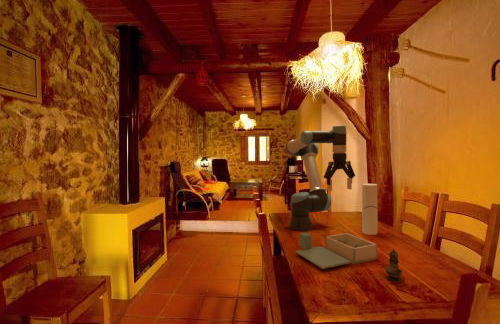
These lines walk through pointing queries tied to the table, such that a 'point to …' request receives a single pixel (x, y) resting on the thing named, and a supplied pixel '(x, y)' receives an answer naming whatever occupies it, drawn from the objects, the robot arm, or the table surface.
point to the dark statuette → (393, 268)
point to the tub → (351, 248)
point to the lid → (318, 253)
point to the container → (369, 209)
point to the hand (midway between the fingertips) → (339, 190)
